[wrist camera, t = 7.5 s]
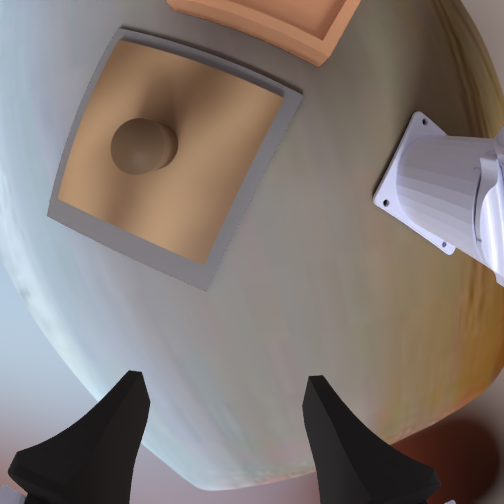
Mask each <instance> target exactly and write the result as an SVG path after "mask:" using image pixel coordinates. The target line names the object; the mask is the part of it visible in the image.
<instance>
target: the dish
mask: <svg viewBox="0 0 504 504" xmlns="http://www.w3.org/2000/svg"><path fill="white" fill-rule="evenodd" d="M360 1H361V0H167V2H168V4H169V6H170V8H171V9H172V10H173V11H177V12H181V13H185V14H189V15H192V16H196V17H199V18H202V19H206V20H209V21H212V22H215V23H218V24H221V25H224V26H227V27H230V28H232V29H235V30H238V31H240V32H243V33H246V34H248V35H251V36H253V37H256V38H258V39H260V40H263V41H265V42H267V43H270V44H272V45H274V46H276V47H279V48H281V49H283V50H285V51H287V52H289V53H291V54H293V55H296V56H298V57H300V58H301V59H303V60H305V61H307V62H309V63H311V64H313V65H315V66H317V67H320V66H321V65H322V64H323V63H324V62H325V61H326V60H327V59H328V58H329V57H330V55H331V53H332V52H333V50H334V48H335V46H336V44H337V43H338V41H339V39H340V37H341V35H342V33H343V32H344V30H345V28H346V26H347V24H348V23H349V21H350V19H351V17H352V15H353V14H354V12H355V10H356V8H357V7H358V5H359V3H360Z"/></svg>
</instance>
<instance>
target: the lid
mask: <svg viewBox="0 0 504 504" xmlns="http://www.w3.org/2000/svg"><path fill="white" fill-rule="evenodd" d="M284 99H285V98H283V97H281V96H279V95H276V94H274V93H272V92H270V91H268V90H266V89H264V88H261V87H259V86H257V85H255V84H252V83H250V82H248V81H246V80H243V79H241V78H238V77H236V76H233V75H231V74H229V73H226V72H223V71H221V70H218V69H216V68H213V67H210V66H207V65H205V64H202V63H199V62H196V61H193V60H190V59H187V58H184V57H181V56H178V55H175V54H172V53H168V52H165V51H161V50H158V49H154V48H151V47H147V46H143V45H139V44H135V43H131V42H127V41H122V40H118V42H117V44H116V45H115V47H114V49H113V51H112V53H111V55H110V57H109V59H108V61H107V63H106V65H105V67H104V69H103V71H102V73H101V75H100V77H99V79H98V81H97V83H96V86H95V88H94V90H93V93H92V95H91V97H90V100H89V102H88V104H87V107H86V109H85V112H84V114H83V117H82V120H81V122H80V125H79V128H78V131H77V133H76V136H75V139H74V142H73V145H72V148H71V152H70V155H69V158H68V161H67V165H66V168H65V172H64V175H63V179H62V183H61V187H60V191H59V195H58V199H59V200H61V201H63V202H65V203H68V204H70V205H72V206H74V207H76V208H78V209H80V210H82V211H84V212H86V213H88V214H91V215H93V216H95V217H97V218H99V219H101V220H103V221H105V222H108V223H110V224H112V225H114V226H116V227H118V228H121V229H123V230H125V231H127V232H129V233H132V234H134V235H136V236H138V237H140V238H143V239H145V240H147V241H149V242H151V243H154V244H156V245H158V246H160V247H163V248H165V249H167V250H169V251H172V252H174V253H176V254H179V255H181V256H183V257H185V258H188V259H190V260H192V261H195V262H197V263H199V264H202V265H204V264H205V262H206V260H207V258H208V256H209V253H210V251H211V249H212V247H213V244H214V242H215V240H216V238H217V236H218V234H219V231H220V229H221V227H222V225H223V223H224V221H225V218H226V216H227V214H228V212H229V210H230V208H231V206H232V203H233V201H234V199H235V197H236V195H237V193H238V191H239V189H240V187H241V185H242V182H243V180H244V178H245V176H246V174H247V172H248V170H249V168H250V166H251V164H252V162H253V160H254V158H255V156H256V154H257V152H258V150H259V148H260V146H261V144H262V142H263V140H264V138H265V136H266V134H267V132H268V130H269V128H270V126H271V124H272V122H273V120H274V118H275V116H276V114H277V112H278V110H279V108H280V106H281V105H282V103H283V101H284Z"/></svg>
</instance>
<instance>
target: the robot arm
mask: <svg viewBox="0 0 504 504" xmlns="http://www.w3.org/2000/svg"><path fill="white" fill-rule="evenodd" d="M423 119H424V121H425V125H424V124H423V122H422V121H423ZM384 200H387V204H386V205H383V202H384ZM373 202H374V203H375V204H376V205H377V206H379V207H380V208H382V209H383V210H385V211H386V212H388V213H389V214H391V215H392V216H394V217H395V218H397V219H398V220H400V221H401V222H403V223H404V224H406V225H407V226H409V227H410V228H412V229H413V230H415V231H416V232H417V233H419V234H420V235H422V236H423V237H424V238H426V239H427V240H429V241H430V242H431V243H433V244H434V245H436V246H437V247H438V248H440V249H441V250H442V251H444V252H445V253H446V254H448V255H451V254H452V253H453V252H454V250H455V248H458V249H460V250H461V251H463V252H465V253H466V254H468V255H470V256H471V257H473V258H475V259H476V260H478V261H479V262H481V263H482V264H484V265H486V266H487V267H489V268H490V269H492V270H493V271H494V273H495V275H496V280H497V283H499V284H500V285H502V286H503V287H504V125H503V126H502V127H501V129H500V131H499V133H498V134H497V135H496V136H495V138H494V139H488V138H476V137H462V136H448V135H447V134H446V133H445V132H444V131H442V130H441V129H440V128H439V127H438V126H437V125H436V124H435V123H434V122H432V121H431V120H430V119H429V118H428V117H427V116H425V115H424V114H423V113H422V112H415V113H414V114H413V116H412V118H411V120H410V122H409V125H408V127H407V129H406V131H405V133H404V135H403V138H402V140H401V142H400V144H399V146H398V148H397V150H396V152H395V154H394V157H393V159H392V161H391V163H390V165H389V167H388V169H387V171H386V173H385V175H384V177H383V179H382V181H381V183H380V184H379V186H378V188H377V190H376V192H375V194H374V196H373ZM443 242H444V244H443V246H442V243H443ZM149 407H150V399H149V396H148V392H147V389H146V385H145V382H144V378H143V375H142V372H138V371H130V370H129V371H128V372H127V373H126V374H125V375H124V376H123V377H122V378H121V379H120V381H119V382H118V383H117V384H116V385H115V386H114V387H113V388H112V389H111V390H110V391H109V392H108V393H107V395H106V396H105V397H104V398H103V399H102V400H101V401H100V402H99V403H98V404H97V405H95V407H93V408H92V409H91V410H90V411H89V412H88V413H87V414H86V415H84V416H83V417H82V418H81V419H80V420H78V421H77V422H76V423H74V424H73V425H71V426H70V427H69V428H67V429H66V430H64V431H62V432H61V433H59V434H57V435H56V436H54V437H52V438H50V439H48V440H46V441H44V442H42V443H40V444H38V445H35V446H33V447H30V448H27V449H24V450H21V451H18V452H17V453H16V455H15V457H14V459H13V461H12V463H11V465H10V468H9V469H8V474H9V476H10V477H11V478H12V479H13V480H14V481H15V482H16V483H17V484H18V485H19V486H20V487H22V488H23V489H24V490H25V491H26V492H27V493H28V495H27V497H25V496H23V495H22V494H21V493H19V492H17V491H15V490H14V489H12V488H10V487H9V486H7V485H5V484H2V487H1V489H0V504H129V500H130V490H131V481H132V475H133V468H134V464H135V459H136V456H137V452H138V449H139V446H140V443H141V440H142V436H143V433H144V430H145V427H146V423H147V419H148V414H149ZM302 407H303V416H304V423H305V428H306V432H307V436H308V440H309V443H310V447H311V451H312V454H313V458H314V462H315V466H316V471H317V477H318V484H319V492H320V502H321V504H427V503H426V499H427V498H429V497H430V496H431V495H432V494H433V493H435V492H436V491H437V490H438V489H439V487H440V485H441V483H440V481H439V479H438V476H437V474H436V472H435V471H434V469H433V468H432V467H430V466H427V465H425V464H422V463H420V462H418V461H416V460H413V459H412V458H410V457H408V456H406V455H404V454H402V453H401V452H399V451H398V450H396V449H394V448H393V447H391V446H390V445H388V444H387V443H385V442H384V441H383V440H382V439H380V438H379V437H378V436H376V435H375V434H374V433H373V432H372V431H371V430H369V429H368V428H367V427H366V426H365V425H364V424H363V423H362V422H361V421H360V420H359V419H358V418H357V417H356V416H355V415H354V414H353V413H352V412H351V410H350V409H349V408H348V407H347V406H346V405H345V403H344V402H343V401H342V400H341V399H340V397H339V396H338V395H337V394H336V392H335V391H334V390H333V388H332V387H331V386H330V384H329V383H328V381H327V380H326V379H325V377H324V376H323V375H319V376H309V378H308V382H307V387H306V392H305V396H304V401H303V405H302ZM446 504H456V503H455V501H454V500H451V501H449V502H448V503H446Z"/></svg>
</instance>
